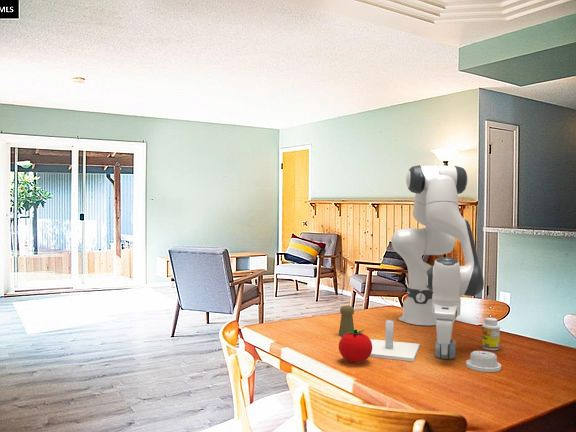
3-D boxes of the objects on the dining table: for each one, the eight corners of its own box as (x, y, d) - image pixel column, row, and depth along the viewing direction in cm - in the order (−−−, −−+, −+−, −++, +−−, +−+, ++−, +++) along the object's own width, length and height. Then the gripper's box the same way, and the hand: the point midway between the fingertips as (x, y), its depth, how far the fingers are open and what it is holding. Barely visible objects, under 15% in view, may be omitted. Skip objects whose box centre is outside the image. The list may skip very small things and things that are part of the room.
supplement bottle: (479, 346, 183) (479, 317, 183) (494, 346, 184) (495, 317, 183) (485, 350, 178) (486, 320, 177) (502, 350, 178) (502, 320, 178)
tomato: (331, 359, 166) (332, 328, 165) (358, 355, 171) (358, 324, 171) (352, 369, 157) (352, 335, 156) (379, 363, 162) (379, 331, 162)
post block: (367, 341, 188) (368, 313, 188) (419, 346, 182) (419, 317, 181) (356, 355, 171) (357, 324, 171) (413, 361, 165) (414, 329, 165)
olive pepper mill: (354, 337, 193) (354, 307, 193) (337, 336, 194) (338, 307, 194) (355, 333, 199) (355, 304, 198) (339, 332, 200) (339, 304, 200)
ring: (435, 352, 174) (436, 337, 174) (455, 354, 172) (455, 339, 172) (434, 357, 169) (434, 342, 168) (454, 359, 166) (455, 344, 166)
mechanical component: (483, 361, 167) (458, 365, 163) (484, 347, 166) (459, 350, 163) (508, 371, 157) (482, 375, 153) (508, 356, 157) (482, 359, 153)
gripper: (438, 301, 181) (437, 341, 181) (433, 313, 162) (432, 358, 162) (457, 303, 179) (456, 343, 179) (455, 315, 159) (454, 361, 160)
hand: (445, 351), depth 170 cm, fingers closed on ring, 6 cm apart
